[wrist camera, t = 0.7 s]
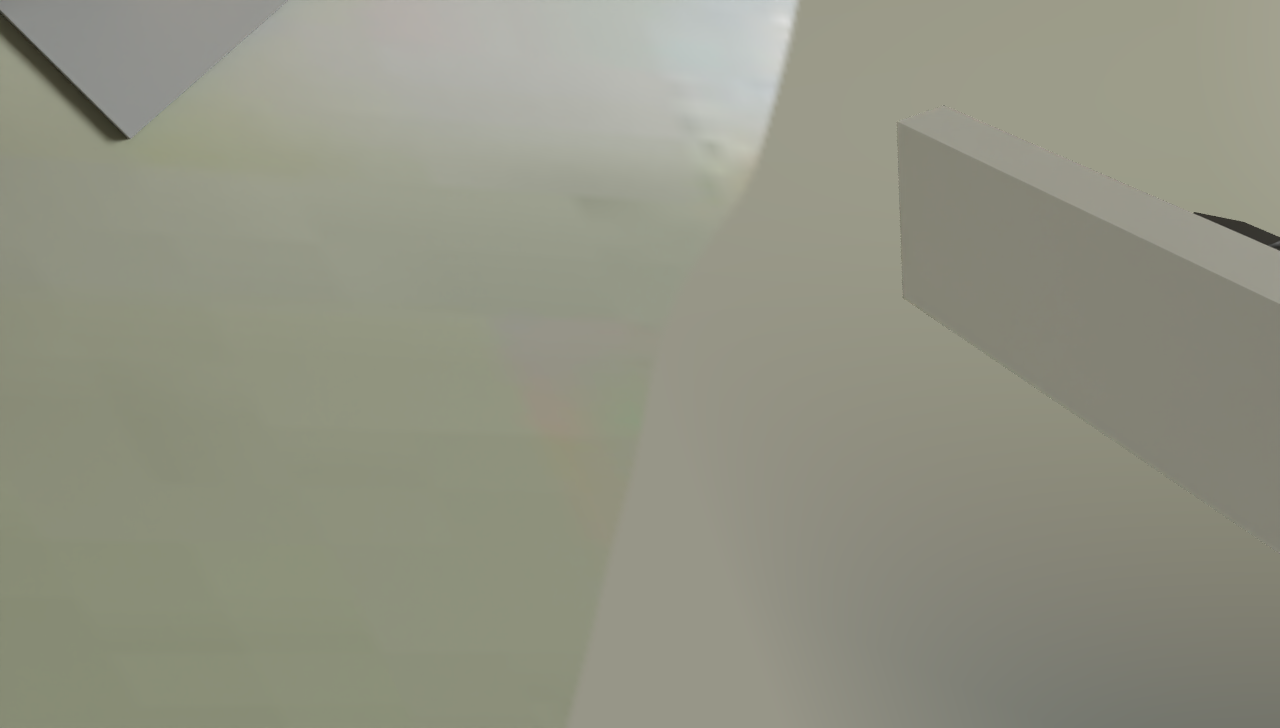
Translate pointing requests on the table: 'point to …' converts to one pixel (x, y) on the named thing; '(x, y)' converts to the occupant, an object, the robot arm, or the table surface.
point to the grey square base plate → (135, 46)
